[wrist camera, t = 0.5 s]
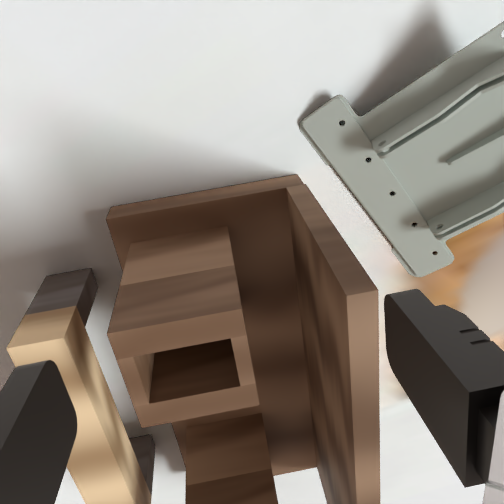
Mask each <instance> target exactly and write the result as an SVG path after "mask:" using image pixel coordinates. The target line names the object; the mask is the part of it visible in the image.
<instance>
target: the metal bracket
mask: <svg viewBox="0 0 504 504" xmlns="http://www.w3.org/2000/svg"><path fill="white" fill-rule="evenodd" d="M503 30H504V21H503V22H502V23H500V24H499V25H497V26H496V27H494V28H493V29H491V30H490V31H488V32H487V33H486V34H484V35H483V36H481V37H480V38H478V39H477V40H475V41H474V42H472V43H471V44H469V45H468V46H466V47H465V48H463V49H462V50H460V51H459V52H457V53H456V54H454V55H453V56H451V57H450V58H448V59H447V60H445V61H444V62H442V63H441V64H439V65H438V66H436V67H435V68H433V69H432V70H430V71H429V72H427V73H426V74H425V75H423V76H422V77H420V78H419V79H417V80H416V81H414V82H413V83H411V84H410V85H408V86H407V87H405V88H404V89H402V90H401V91H399V92H398V93H396V94H395V95H393V96H392V97H390V98H389V99H387V100H386V101H384V102H383V103H381V104H380V105H378V106H377V107H375V108H374V109H372V110H371V111H369V112H368V113H366V114H365V115H363V116H358V115H357V114H356V113H355V112H354V111H353V109H352V108H351V106H350V105H349V103H348V102H347V100H346V99H345V97H344V96H342V95H337V96H335V97H333V98H332V99H331V100H329V101H328V102H327V103H325V104H324V105H322V106H321V107H320V108H318V109H317V110H315V111H314V112H313V113H311V114H310V115H308V116H307V117H306V118H304V119H303V120H302V121H301V122H300V125H299V127H300V131H301V132H302V134H303V135H304V136H305V138H306V139H307V140H308V142H309V143H310V144H311V146H312V147H313V148H314V150H315V151H316V152H317V153H318V155H319V156H320V157H321V159H322V160H323V161H324V163H325V164H326V165H330V166H332V167H333V169H334V170H335V171H336V172H337V174H338V175H339V176H340V178H341V179H342V180H343V182H344V183H345V184H346V185H347V187H348V188H349V189H350V191H351V192H352V193H353V195H354V196H355V197H356V199H357V200H358V201H359V202H360V204H361V205H362V206H363V208H364V209H365V210H366V212H367V213H368V214H369V215H370V217H371V218H372V219H373V221H374V222H375V223H376V225H377V226H378V227H379V228H380V230H381V231H382V232H383V234H384V235H385V236H386V238H387V239H388V240H389V241H390V243H391V244H392V245H393V249H392V250H391V251H392V252H393V253H394V255H395V256H396V257H397V259H398V260H399V261H400V263H401V264H402V265H403V267H404V268H405V269H406V271H407V272H408V273H409V274H410V275H413V276H415V277H423V276H425V275H428V274H430V273H432V272H434V271H436V270H438V269H441V268H443V267H445V266H447V265H449V264H451V263H452V262H453V260H454V256H453V254H452V252H451V251H450V249H449V248H448V247H447V245H446V243H445V242H446V241H447V240H448V239H450V238H452V237H454V236H456V235H458V234H460V233H462V232H464V231H466V230H468V229H470V228H472V227H474V226H476V225H478V224H481V223H483V222H485V221H487V220H489V219H491V218H493V217H495V216H497V215H499V214H501V213H503V212H504V38H502V37H501V33H502V31H503ZM341 120H344V121H345V124H344V125H340V124H339V122H340V121H341ZM368 157H369V158H371V160H370V161H369V162H367V161H365V160H366V158H368ZM392 191H394V192H395V194H394V195H390V192H392ZM414 222H415V223H417V224H416V225H415V226H413V225H412V223H414ZM434 251H437V253H436V254H433V252H434Z"/></svg>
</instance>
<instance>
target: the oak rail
mask: <svg viewBox="0 0 504 504" xmlns="http://www.w3.org/2000/svg"><path fill="white" fill-rule="evenodd" d="M97 290H98V286H97V283H96V280H95V277H94V275H93V272H92V269H91V268H89V269H83V270H77V271H72V272H66V273H61V274H55V275H50V276H46V278H45V279H44V281H43V283H42V285H41V287H40V288H39V290H38V292H37V294H36V296H35V297H34V299H33V301H32V303H31V305H30V307H29V308H28V310H27V312H26V314H25V316H24V317H23V319H22V321H21V323H20V325H19V326H18V328H17V330H16V332H15V334H14V335H13V337H12V339H11V341H10V343H9V344H8V346H7V348H6V349H7V351H8V353H9V355H10V357H11V359H12V361H13V363H14V365H15V367H17V366H21V365H26V364H31V363H36V362H41V361H47V360H52V361H54V362H55V364H56V365H57V367H58V369H59V372H60V374H61V377H62V379H63V381H64V384H65V386H66V389H67V391H68V394H69V396H70V398H71V401H72V403H73V406H74V408H75V411H76V416H77V435H76V439H75V442H74V445H73V448H72V451H71V454H70V457H69V460H68V463H67V468H68V470H69V472H70V474H71V476H72V478H73V480H74V482H75V484H76V486H77V488H78V490H79V492H80V494H81V496H82V498H83V500H84V502H85V503H86V504H151V494H152V482H153V470H154V458H155V445H154V442H153V439H152V436H151V435H146V436H141V437H136V438H130V439H129V438H128V436H127V433H126V431H125V428H124V426H123V423H122V420H121V418H120V415H119V413H118V410H117V408H116V405H115V403H114V400H113V398H112V395H111V393H110V390H109V388H108V385H107V382H106V380H105V377H104V375H103V372H102V370H101V367H100V365H99V362H98V360H97V357H96V355H95V352H94V350H93V347H92V344H91V342H90V339H89V337H88V334H87V332H86V329H85V325H86V322H87V320H88V317H89V314H90V311H91V308H92V305H93V302H94V299H95V296H96V293H97Z"/></svg>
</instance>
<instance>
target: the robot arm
mask: <svg viewBox="0 0 504 504" xmlns="http://www.w3.org/2000/svg"><path fill="white" fill-rule="evenodd" d="M384 312H385V333H386V350H387V356H388V360H389V363H390V366H391V368H392V371H393V373H394V374H395V376H396V378H397V379H398V381H399V383H400V384H401V386H402V387H403V389H404V391H405V392H406V394H407V395H408V397H409V399H410V400H411V402H412V403H413V405H414V407H415V408H416V410H417V411H418V413H419V415H420V416H421V418H422V419H423V421H424V423H425V424H426V426H427V427H428V429H429V431H430V432H431V434H432V435H433V437H434V439H435V440H436V442H437V443H438V445H439V447H440V448H441V450H442V451H443V453H444V455H445V456H446V458H447V460H448V461H449V463H450V464H451V466H452V468H453V469H454V471H455V472H456V474H457V476H458V477H459V479H460V480H461V482H462V484H463V485H464V487H470V486H474V485H479V484H484V483H485V491H484V497H483V504H504V351H503V350H502V349H500V348H499V347H498V346H497V345H496V344H495V343H494V342H493V341H490V338H489V337H488V336H487V335H486V334H485V333H484V332H483V331H482V330H479V329H478V327H477V326H476V325H475V324H474V323H473V322H472V321H471V320H470V319H469V318H468V317H467V316H466V315H465V314H463V313H461V312H459V311H457V310H455V309H453V308H450V307H448V306H446V305H439V306H434V305H433V304H432V303H431V302H430V300H429V299H428V298H427V297H426V296H425V295H424V294H423V293H422V292H421V291H420V290H418V289H413V290H408V291H403V292H398V293H392V294H387V295H386V296H385V299H384ZM76 435H77V416H76V411H75V408H74V406H73V403H72V401H71V398H70V396H69V394H68V391H67V389H66V386H65V384H64V381H63V379H62V377H61V374H60V372H59V369H58V367H57V365H56V364H55V362H54V361H52V360H47V361H41V362H36V363H31V364H26V365H21V366H17V367H16V368H15V369H14V370H13V372H12V374H11V375H10V377H9V379H8V380H7V382H6V384H5V385H4V387H3V389H2V390H1V391H0V504H54V503H55V500H56V497H57V494H58V491H59V488H60V485H61V482H62V479H63V476H64V473H65V469H66V466H67V463H68V460H69V457H70V454H71V451H72V448H73V445H74V442H75V439H76Z"/></svg>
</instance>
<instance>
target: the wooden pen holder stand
mask: <svg viewBox="0 0 504 504" xmlns="http://www.w3.org/2000/svg"><path fill="white" fill-rule="evenodd" d="M106 221H107V224H108V227H109V230H110V234H111V237H112V240H113V243H114V246H115V249H116V252H117V255H118V258H119V262H120V265H121V268H122V271H123V275H122V278H121V282H120V286H119V290H118V294H117V297H116V301H115V305H114V309H113V313H112V316H111V320H110V324H109V328H108V332H107V336H108V338H109V341H110V344H111V346H112V349H113V352H114V354H115V357H116V360H117V363H118V365H119V368H120V371H121V373H122V376H123V379H124V382H125V384H126V387H127V390H128V392H129V395H130V398H131V401H132V403H133V406H134V409H135V411H136V414H137V417H138V420H139V422H140V425H141V428H145V427H150V426H155V425H161V424H166V423H172V426H173V430H174V433H175V436H176V439H177V442H178V445H179V448H180V451H181V454H182V458H183V461H184V464H185V467H186V504H278V500H277V495H276V489H275V483H274V478H273V476H275V475H280V474H285V473H290V472H295V471H300V470H305V469H310V468H315V467H317V469H318V472H319V476H320V479H321V483H322V486H323V490H324V494H325V497H326V501H327V504H380V426H379V318H378V289H377V287H376V286H375V284H374V283H373V282H372V280H371V279H370V277H369V276H368V274H367V273H366V271H365V270H364V268H363V267H362V266H361V264H360V263H359V261H358V260H357V258H356V257H355V255H354V254H353V252H352V251H351V249H350V248H349V247H348V245H347V244H346V242H345V241H344V239H343V238H342V236H341V235H340V233H339V232H338V230H337V229H336V228H335V226H334V225H333V223H332V222H331V220H330V219H329V217H328V216H327V214H326V213H325V212H324V210H323V209H322V207H321V206H320V204H319V203H318V201H317V200H316V198H315V197H314V195H313V194H312V193H311V191H310V190H309V188H308V187H307V185H306V184H304V183H303V182H302V181H301V179H300V178H299V176H298V175H297V174H296V175H290V176H284V177H279V178H273V179H267V180H262V181H256V182H250V183H245V184H239V185H233V186H227V187H222V188H216V189H210V190H205V191H199V192H193V193H188V194H182V195H176V196H170V197H165V198H159V199H153V200H148V201H142V202H136V203H131V204H125V205H119V206H113V207H111V209H110V211H109V213H108V216H107V218H106Z"/></svg>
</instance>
